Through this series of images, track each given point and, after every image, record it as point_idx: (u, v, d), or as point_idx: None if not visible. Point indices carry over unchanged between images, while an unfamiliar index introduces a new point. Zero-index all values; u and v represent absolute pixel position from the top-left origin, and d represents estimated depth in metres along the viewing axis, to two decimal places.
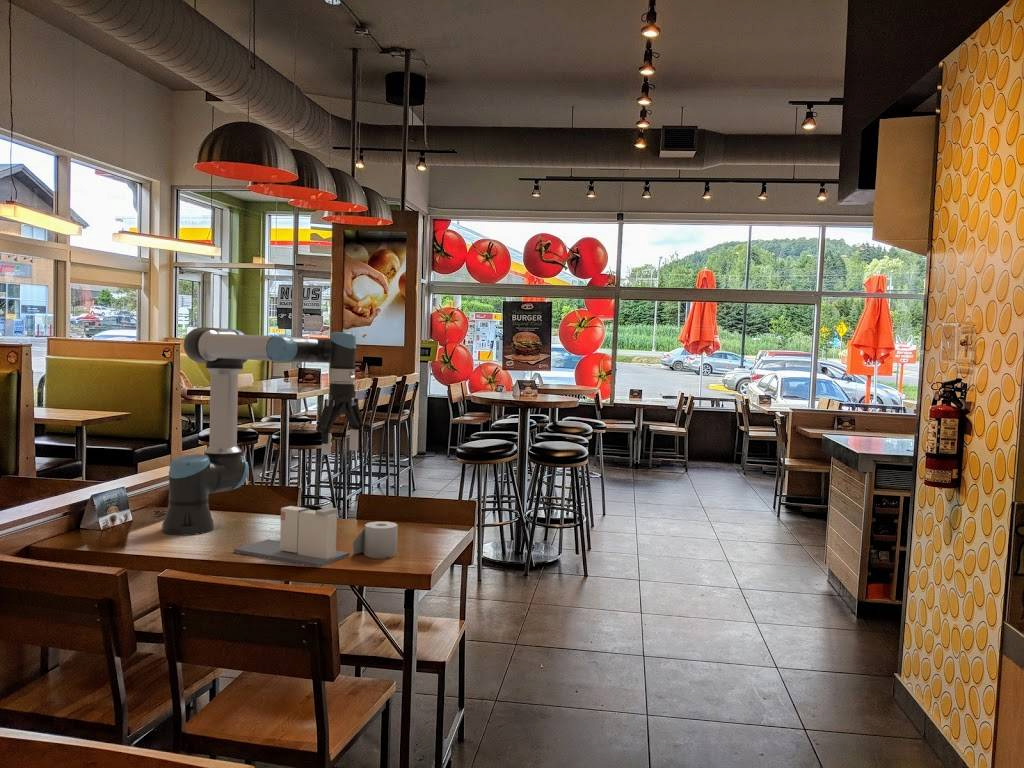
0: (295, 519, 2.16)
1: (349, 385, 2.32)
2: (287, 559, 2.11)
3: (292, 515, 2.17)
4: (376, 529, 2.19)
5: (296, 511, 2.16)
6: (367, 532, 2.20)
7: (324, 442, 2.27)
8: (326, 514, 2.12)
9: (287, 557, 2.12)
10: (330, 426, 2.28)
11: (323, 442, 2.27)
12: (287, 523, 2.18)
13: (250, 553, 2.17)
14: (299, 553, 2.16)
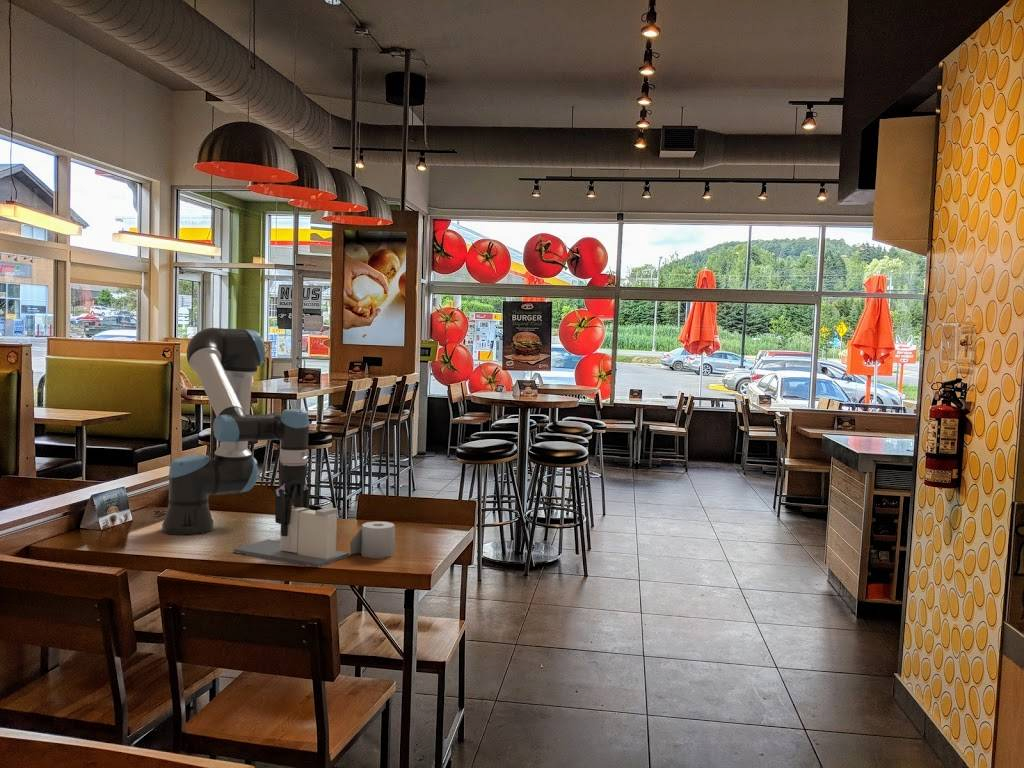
0: (295, 519, 2.16)
1: (301, 467, 2.16)
2: (287, 559, 2.11)
3: (292, 515, 2.17)
4: (373, 529, 2.18)
5: (296, 511, 2.16)
6: (364, 532, 2.20)
7: (283, 534, 2.16)
8: (326, 514, 2.12)
9: (287, 557, 2.12)
10: (288, 517, 2.16)
11: (283, 534, 2.16)
12: None
13: (250, 553, 2.17)
14: (299, 553, 2.16)
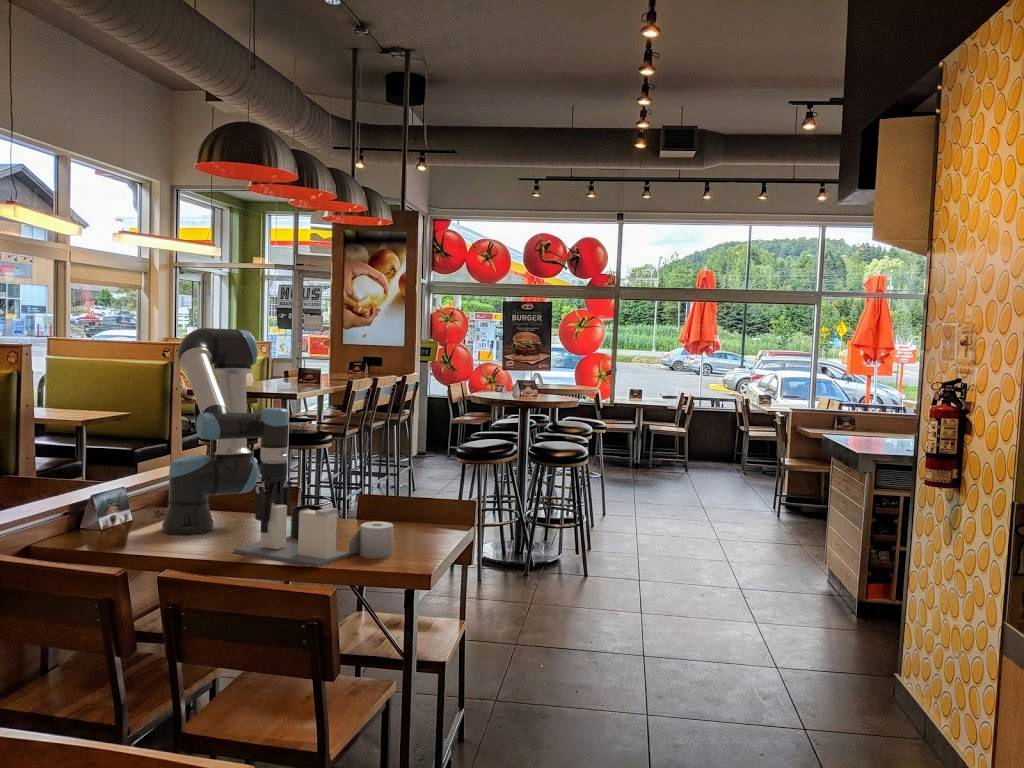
0: (275, 516, 2.19)
1: (280, 465, 2.20)
2: (287, 559, 2.11)
3: (272, 512, 2.20)
4: (372, 529, 2.18)
5: (276, 508, 2.19)
6: (363, 532, 2.20)
7: (263, 531, 2.19)
8: (326, 514, 2.12)
9: (287, 557, 2.12)
10: (268, 514, 2.19)
11: (263, 531, 2.19)
12: None
13: (250, 553, 2.17)
14: (299, 553, 2.16)
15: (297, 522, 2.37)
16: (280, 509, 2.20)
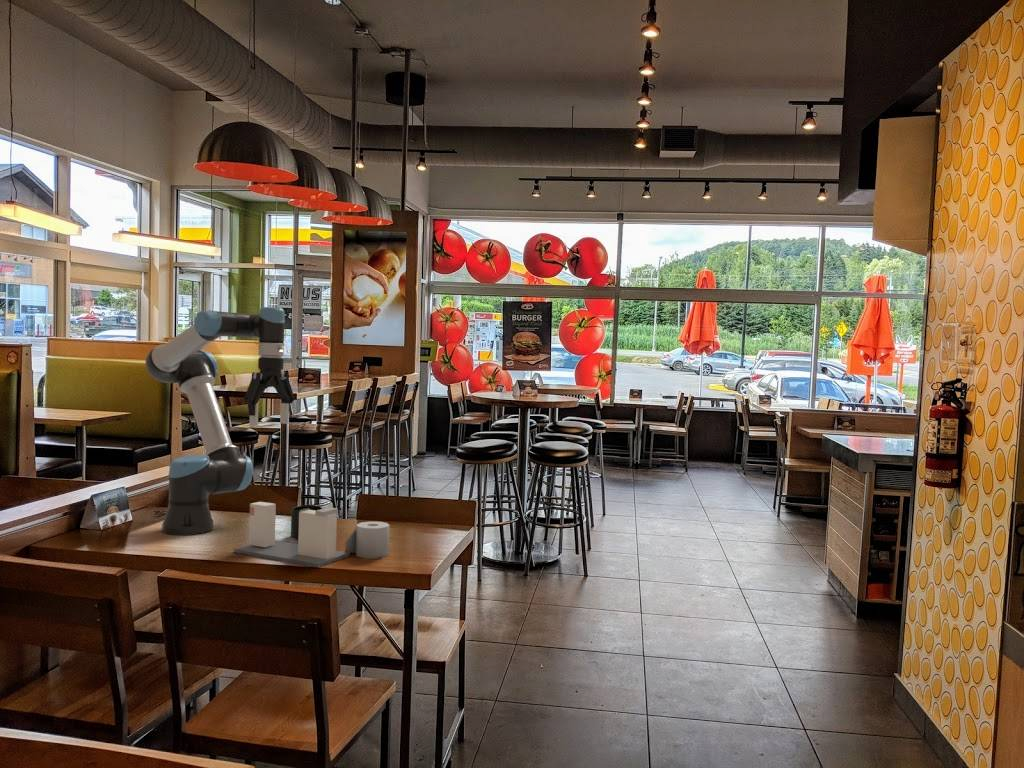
0: (263, 514, 2.21)
1: (277, 359, 2.37)
2: (287, 559, 2.11)
3: (261, 510, 2.22)
4: (368, 529, 2.18)
5: (264, 506, 2.21)
6: (359, 532, 2.19)
7: (251, 414, 2.33)
8: (326, 514, 2.12)
9: (287, 557, 2.12)
10: (257, 398, 2.34)
11: (250, 413, 2.33)
12: (256, 518, 2.22)
13: (250, 553, 2.17)
14: (299, 553, 2.16)
15: (297, 522, 2.37)
16: (268, 508, 2.22)
